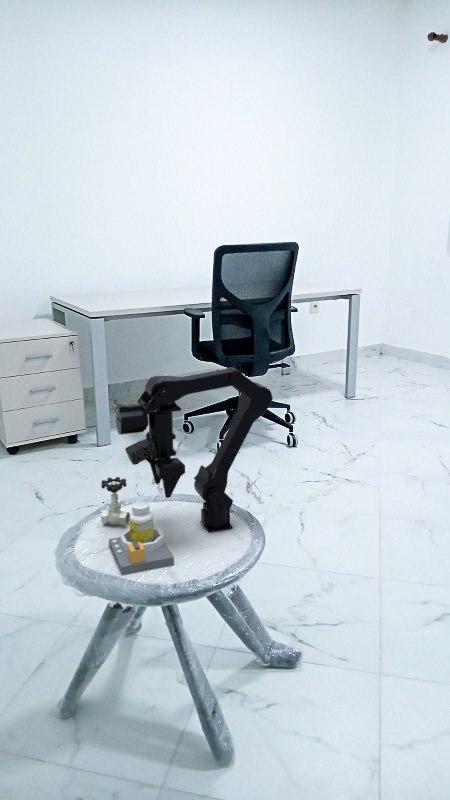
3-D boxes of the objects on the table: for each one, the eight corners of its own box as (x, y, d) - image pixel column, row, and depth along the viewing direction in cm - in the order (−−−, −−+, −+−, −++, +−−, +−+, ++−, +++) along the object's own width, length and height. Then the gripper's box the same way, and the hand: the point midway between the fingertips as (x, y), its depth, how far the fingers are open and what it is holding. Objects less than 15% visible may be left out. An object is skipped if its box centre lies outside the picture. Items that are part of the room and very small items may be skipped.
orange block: (141, 553, 144) (140, 539, 143) (145, 561, 141) (144, 546, 140) (128, 556, 143) (127, 541, 142) (131, 563, 140) (131, 549, 139)
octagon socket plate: (157, 538, 156) (156, 523, 155) (174, 565, 143) (173, 549, 142) (109, 546, 152) (108, 531, 150) (121, 575, 139) (121, 558, 138)
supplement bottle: (131, 537, 152) (130, 500, 149) (154, 537, 152) (153, 499, 149) (129, 548, 146) (128, 510, 144) (153, 548, 147) (152, 509, 144)
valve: (123, 531, 159) (121, 487, 156) (99, 529, 160) (96, 485, 157) (132, 520, 165) (130, 477, 162) (108, 518, 167) (106, 475, 163)
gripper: (119, 422, 156) (121, 481, 160) (137, 445, 139) (139, 510, 143) (162, 417, 160) (164, 475, 164) (185, 439, 143) (186, 503, 147)
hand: (162, 490), depth 154 cm, fingers open, 9 cm apart
